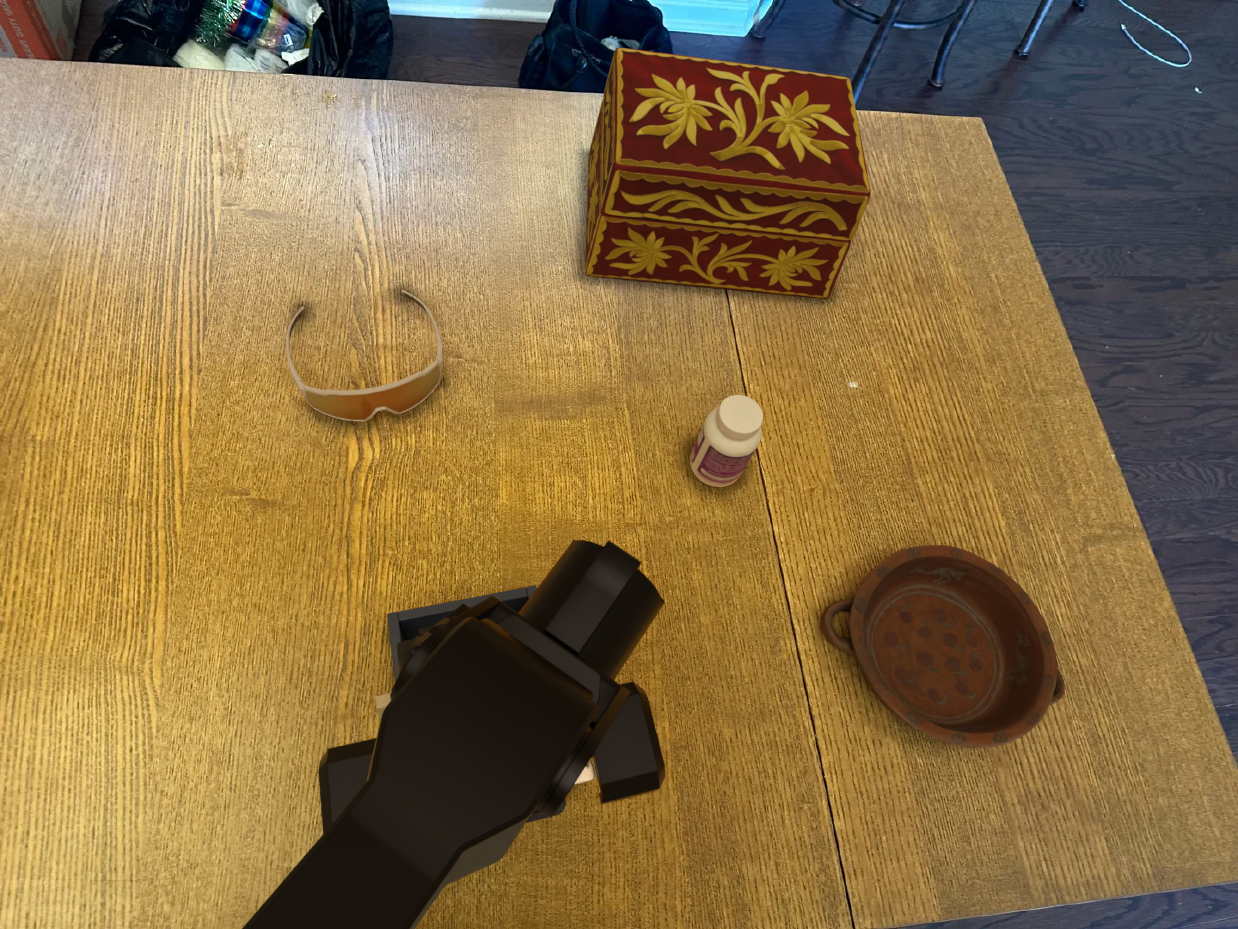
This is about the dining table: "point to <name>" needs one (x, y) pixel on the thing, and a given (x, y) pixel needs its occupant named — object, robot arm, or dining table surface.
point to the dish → (951, 646)
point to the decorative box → (723, 175)
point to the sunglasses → (374, 399)
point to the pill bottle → (727, 441)
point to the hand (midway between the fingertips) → (496, 785)
